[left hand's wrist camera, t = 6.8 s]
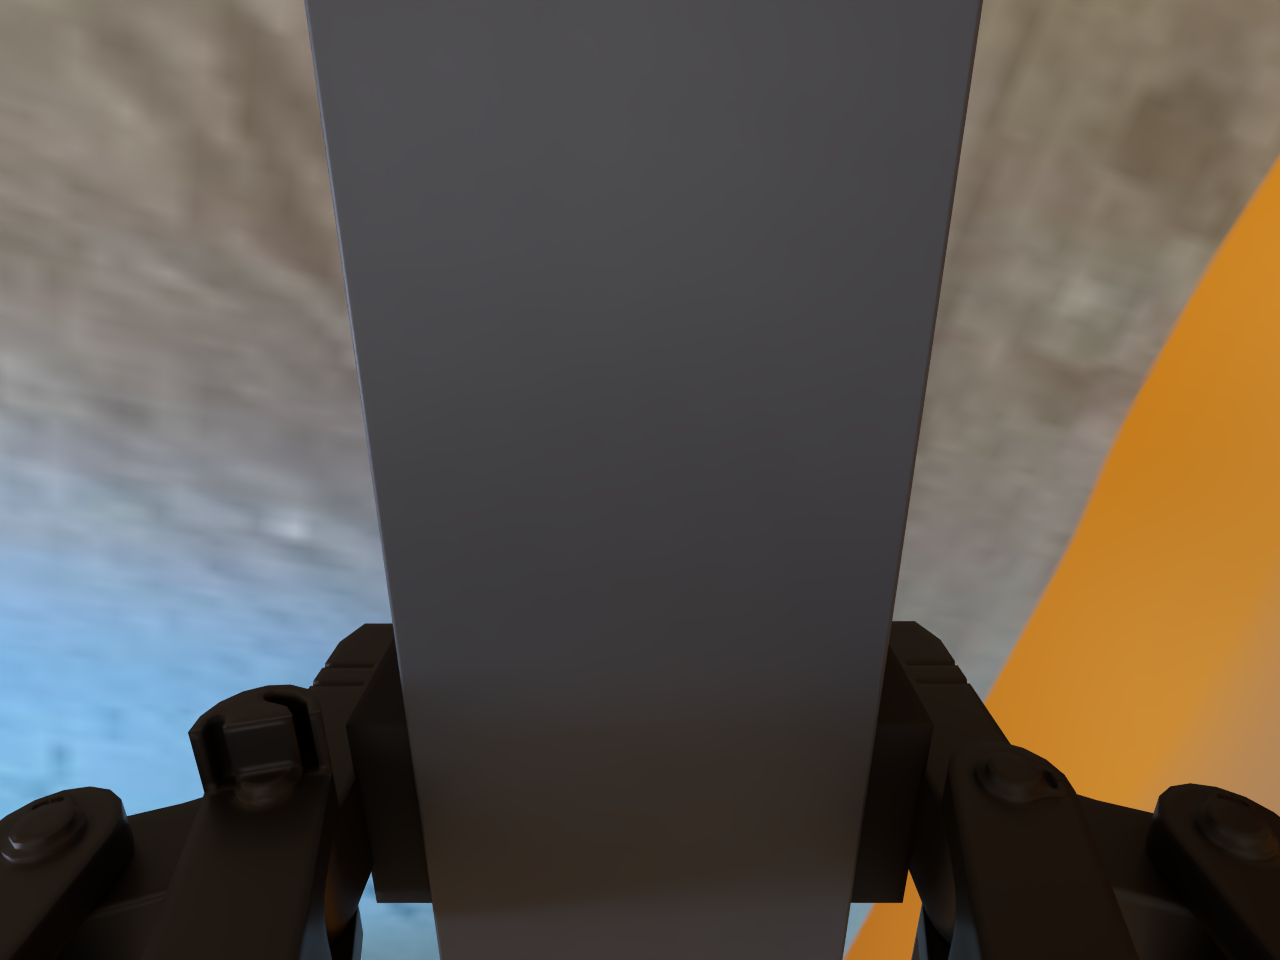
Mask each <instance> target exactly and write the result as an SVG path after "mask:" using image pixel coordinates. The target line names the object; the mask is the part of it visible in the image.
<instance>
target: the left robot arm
mask: <svg viewBox="0 0 1280 960" xmlns="http://www.w3.org/2000/svg"><path fill="white" fill-rule="evenodd" d="M188 734H189V738H190V741H191V745H192V749H193V752H194V756H195V760H196V763H197V767H198V770H199V774H200V778H201V781H202V785H203V789H204V792H205V793H204V796H203V797H202V798H199V799H196V800H192V801H189V802H186V803H182V804H178V805H174V806H169V807H165V808H161V809H156V810H152V811H148V812H144V813H139V814H135V815H131V816H126V813H125V810H124V806H123V803H122V800H121V799H120V798H119V797H118V796H117V795H116V794H114V793H113V792H112V791H111V790H109V789H103V788H96V787H83V788H76V789H69V790H63V791H60V792H57V793H55V794H52V795H49V796H46V797H43V798H40V799H37V800H35V801H33V802H31V803H29V804H27V805H25V806H24V807H22V808H20V809H18V810H16V811H14V812H13V813H11V814H9V815H7V816H6V817H4V818H3V819H2V820H1V821H0V960H361V950H362V939H363V931H362V924H361V917H360V912H359V907H358V904H359V901H360V899H361V896H362V893H363V891H364V888H365V886H366V883H367V881H368V878H369V876H370V873H371V872H372V877H373V883H374V889H375V894H376V900H377V903H432V898H431V890H430V883H429V876H428V869H427V862H426V855H425V848H424V841H423V834H422V827H421V820H420V813H419V806H418V799H417V792H416V785H415V778H414V770H413V763H412V756H411V749H410V742H409V735H408V728H407V721H406V714H405V707H404V700H403V693H402V686H401V679H400V672H399V665H398V658H397V650H396V643H395V636H394V629H393V624H364V625H362V626H361V627H360V628H358V629H357V630H356V631H354V632H353V633H351V634H350V635H349V636H347V637H346V638H345V639H343V640H342V641H340V642H339V644H338V645H337V647H336V648H335V650H334V651H333V653H332V654H331V656H330V657H329V659H328V660H327V662H326V663H325V668H322V669H321V671H320V672H319V674H318V675H317V677H316V678H315V680H314V681H313V686H310V687H309V689H306V688H302V687H298V686H294V685H268V686H264V687H260V688H256V689H251V690H247V691H243V692H241V693H239V694H237V695H234V696H232V697H230V698H228V699H226V700H223V701H221V702H219V703H218V704H216V705H215V706H214V707H212V708H211V709H210V710H208V711H207V712H206V713H204V714H203V715H201V716H200V717H199V719H198V720H197V721H196V723H195V724H194V725H193V727H192V728H191V729H190V731H189V732H188ZM908 869H909V871H910V873H911V876H912V878H913V881H914V883H915V886H916V888H917V891H918V893H919V896H920V898H921V901H922V907H921V912H920V917H919V922H918V928H917V933H916V938H915V943H914V949H913V954H912V959H911V960H1280V817H1279V816H1278V815H1277V814H1275V813H1274V812H1272V811H1270V810H1269V809H1267V808H1265V807H1263V806H1261V805H1259V804H1258V803H1256V802H1254V801H1252V800H1250V799H1248V798H1246V797H1244V796H1241V795H1238V794H1235V793H1232V792H1229V791H1227V790H1224V789H1221V788H1218V787H1213V786H1205V785H1198V784H1191V783H1190V784H1183V785H1177V786H1171V787H1169V788H1168V789H1167V790H1166V791H1165V792H1163V793H1162V794H1161V795H1160V796H1159V798H1158V802H1157V805H1156V808H1155V811H1154V813H1150V812H1145V811H1141V810H1137V809H1132V808H1128V807H1124V806H1119V805H1115V804H1111V803H1106V802H1102V801H1098V800H1094V799H1091V798H1087V797H1084V796H1081V795H1078V794H1076V792H1075V790H1074V789H1073V787H1072V786H1071V784H1070V783H1069V781H1068V779H1067V778H1066V776H1065V775H1064V774H1063V773H1062V772H1060V771H1059V770H1058V769H1057V768H1056V767H1054V766H1053V765H1052V764H1051V763H1050V762H1048V761H1047V760H1046V759H1044V758H1042V757H1040V756H1038V755H1036V754H1034V753H1032V752H1030V751H1028V750H1026V749H1024V748H1021V747H1018V746H1014V745H1011V744H1010V743H1009V741H1008V740H1007V738H1006V737H1005V735H1004V734H1003V732H1002V731H1001V729H1000V728H999V726H998V725H997V723H996V722H995V720H994V719H993V717H992V716H991V714H990V713H989V712H988V710H987V708H986V707H985V705H984V704H983V702H982V701H981V699H980V698H979V697H978V695H977V694H976V692H975V691H974V689H973V688H972V686H971V685H970V684H967V679H966V677H965V676H964V674H963V673H962V671H961V670H960V668H959V667H958V665H955V661H954V659H953V658H952V656H951V655H950V653H949V652H948V650H947V649H946V647H945V646H944V644H943V643H942V642H941V640H940V639H939V638H937V637H936V636H934V635H933V634H932V633H930V632H929V631H928V630H926V629H925V628H923V627H922V626H921V625H919V624H918V623H916V622H915V621H892V624H891V631H890V638H889V645H888V651H887V658H886V665H885V672H884V679H883V686H882V692H881V699H880V706H879V713H878V720H877V727H876V733H875V740H874V747H873V754H872V761H871V767H870V774H869V781H868V788H867V795H866V802H865V808H864V815H863V822H862V829H861V836H860V843H859V849H858V856H857V863H856V870H855V877H854V883H853V890H852V897H851V903H902V902H903V897H904V892H905V886H906V880H907V875H908Z"/></svg>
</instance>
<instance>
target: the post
mask: <svg viewBox="0 0 1280 960" xmlns="http://www.w3.org/2000/svg"><path fill="white" fill-rule="evenodd" d="M304 1H305V8H306V15H307V22H308V29H309V36H310V43H311V51H312V58H313V65H314V72H315V79H316V86H317V93H318V100H319V107H320V114H321V121H322V128H323V135H324V142H325V149H326V156H327V163H328V171H329V178H330V185H331V192H332V199H333V206H334V213H335V220H336V227H337V234H338V241H339V248H340V255H341V262H342V269H343V276H344V283H345V290H346V298H347V305H348V312H349V319H350V326H351V333H352V340H353V347H354V354H355V361H356V368H357V375H358V382H359V389H360V396H361V403H362V410H363V418H364V425H365V432H366V439H367V446H368V453H369V460H370V467H371V474H372V481H373V488H374V495H375V502H376V509H377V516H378V523H379V530H380V538H381V545H382V552H383V559H384V566H385V573H386V580H387V587H388V594H389V601H390V608H391V615H392V622H393V629H394V636H395V643H396V650H397V658H398V665H399V672H400V679H401V686H402V693H403V700H404V707H405V714H406V721H407V728H408V735H409V742H410V749H411V756H412V763H413V770H414V778H415V785H416V792H417V799H418V806H419V813H420V820H421V827H422V834H423V841H424V848H425V855H426V862H427V869H428V876H429V883H430V890H431V898H432V905H433V912H434V919H435V926H436V933H437V940H438V947H439V954H440V960H842V959H843V952H844V945H845V938H846V931H847V924H848V918H849V911H850V904H851V897H852V890H853V883H854V877H855V870H856V863H857V856H858V849H859V843H860V836H861V829H862V822H863V815H864V808H865V802H866V795H867V788H868V781H869V774H870V767H871V761H872V754H873V747H874V740H875V733H876V727H877V720H878V713H879V706H880V699H881V692H882V686H883V679H884V672H885V665H886V658H887V651H888V645H889V638H890V631H891V624H892V617H893V610H894V604H895V597H896V590H897V583H898V576H899V570H900V563H901V556H902V549H903V542H904V535H905V529H906V522H907V515H908V508H909V501H910V494H911V488H912V481H913V474H914V467H915V460H916V454H917V447H918V440H919V433H920V426H921V419H922V413H923V406H924V399H925V392H926V385H927V378H928V372H929V365H930V358H931V351H932V344H933V338H934V331H935V324H936V317H937V310H938V303H939V297H940V290H941V283H942V276H943V269H944V262H945V256H946V249H947V242H948V235H949V228H950V222H951V215H952V208H953V201H954V194H955V187H956V181H957V174H958V167H959V160H960V153H961V146H962V140H963V133H964V126H965V119H966V112H967V106H968V99H969V92H970V85H971V78H972V71H973V65H974V58H975V51H976V44H977V37H978V30H979V24H980V17H981V10H982V3H983V0H304Z"/></svg>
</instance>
